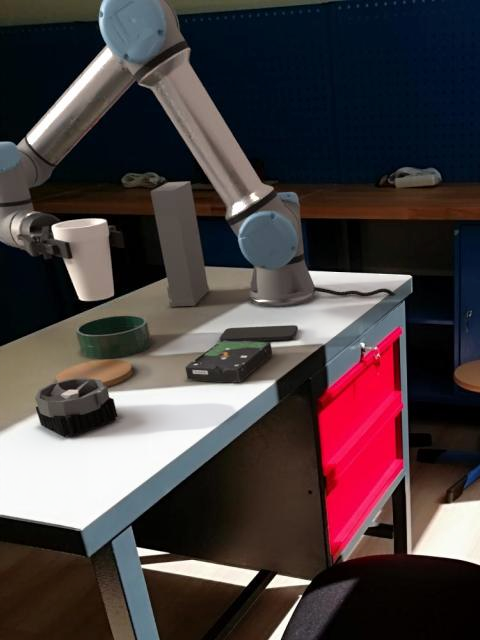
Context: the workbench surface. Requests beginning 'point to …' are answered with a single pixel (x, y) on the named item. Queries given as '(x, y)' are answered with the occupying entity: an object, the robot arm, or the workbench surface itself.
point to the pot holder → (98, 371)
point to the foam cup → (88, 257)
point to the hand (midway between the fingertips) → (95, 245)
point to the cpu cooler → (75, 406)
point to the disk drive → (229, 361)
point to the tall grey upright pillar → (180, 243)
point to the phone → (259, 333)
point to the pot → (113, 336)
